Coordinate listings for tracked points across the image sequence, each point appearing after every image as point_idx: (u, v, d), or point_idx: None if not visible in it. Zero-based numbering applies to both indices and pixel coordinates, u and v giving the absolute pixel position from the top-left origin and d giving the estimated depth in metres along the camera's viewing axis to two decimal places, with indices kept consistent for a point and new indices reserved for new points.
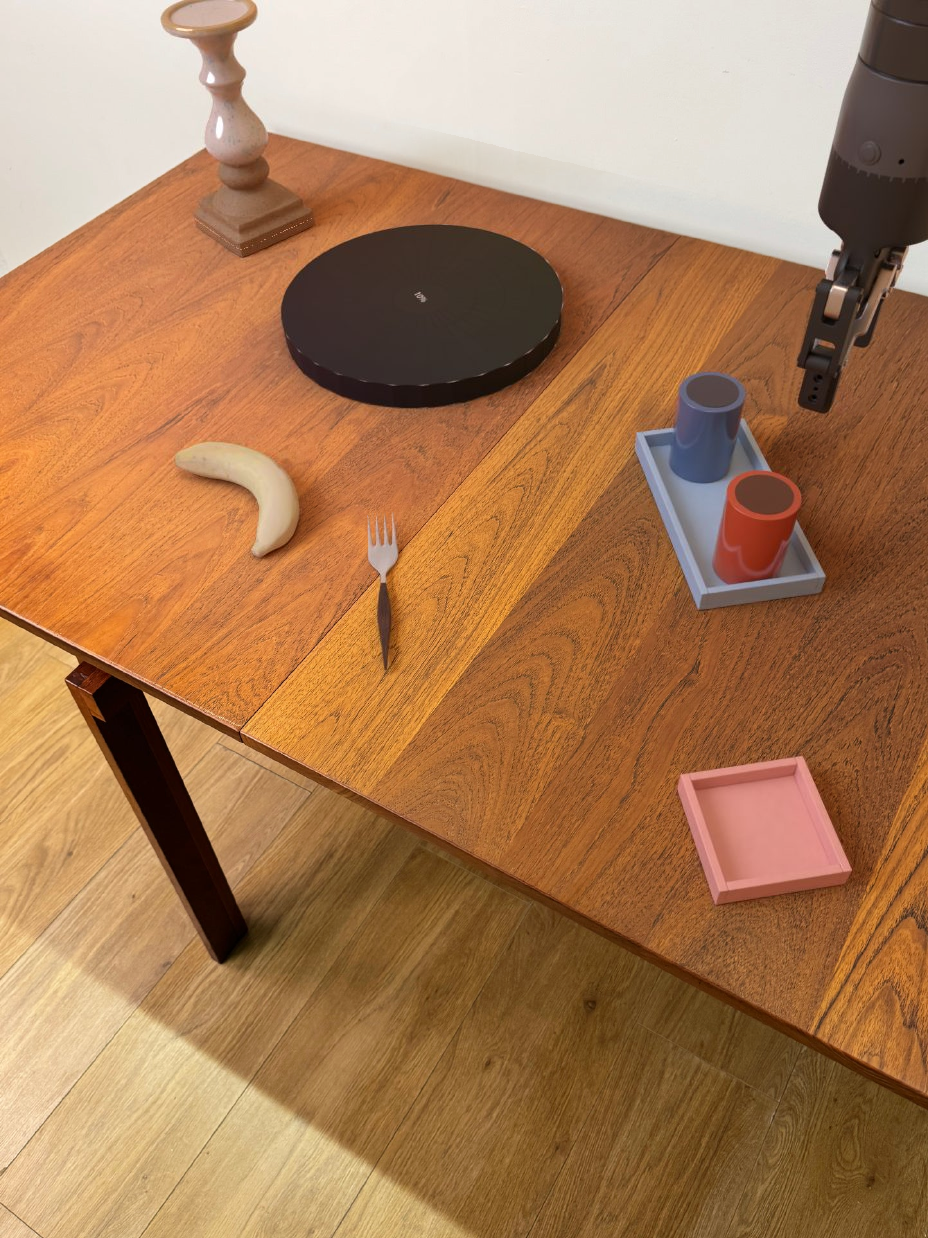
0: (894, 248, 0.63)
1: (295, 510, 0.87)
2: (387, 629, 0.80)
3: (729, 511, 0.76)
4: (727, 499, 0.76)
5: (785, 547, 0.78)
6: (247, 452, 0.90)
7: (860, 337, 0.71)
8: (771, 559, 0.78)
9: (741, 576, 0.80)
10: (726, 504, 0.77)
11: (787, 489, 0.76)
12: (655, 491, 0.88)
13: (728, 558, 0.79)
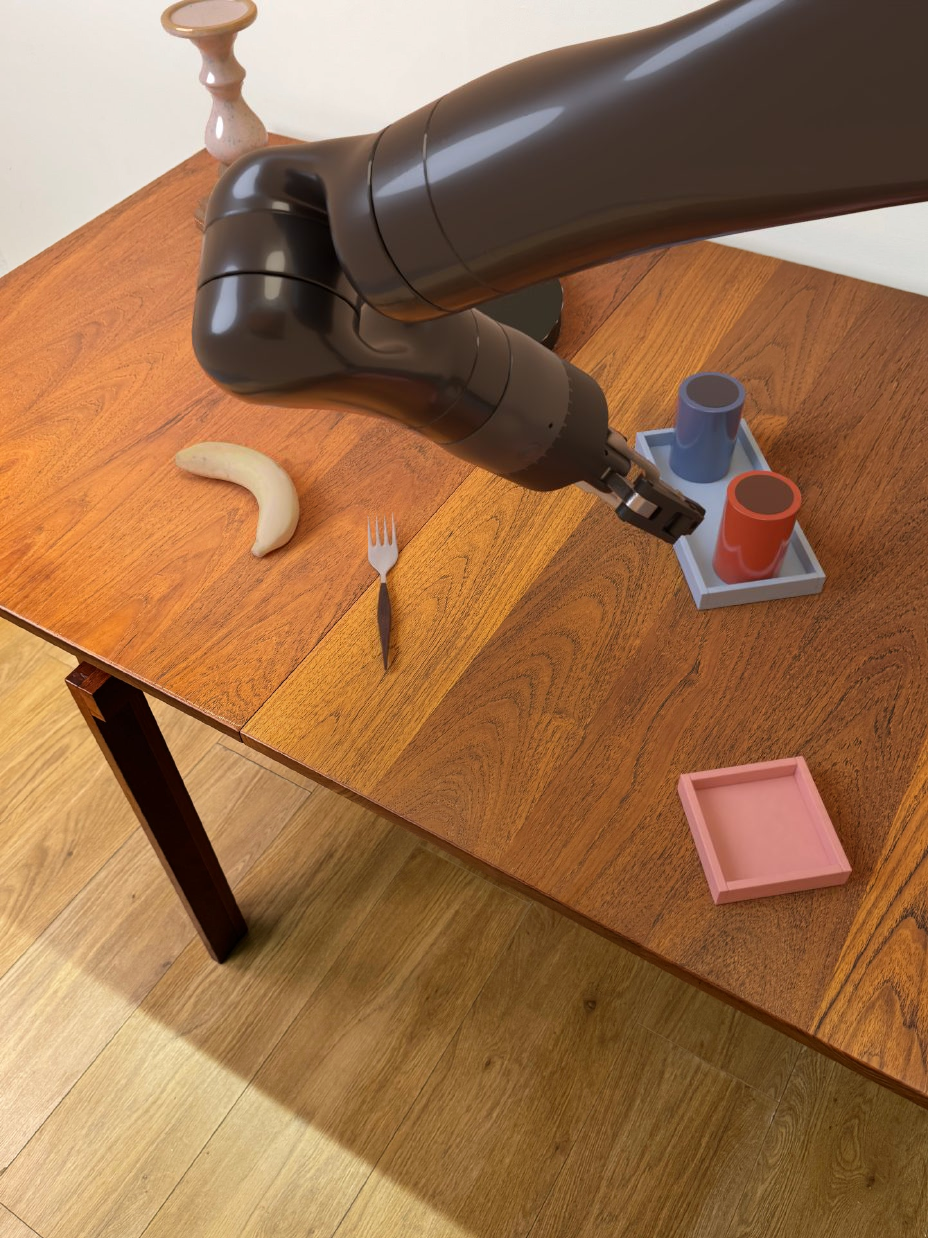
0: None
1: (295, 510, 0.87)
2: (387, 629, 0.80)
3: (729, 511, 0.76)
4: (727, 499, 0.76)
5: (785, 547, 0.78)
6: (247, 452, 0.90)
7: None
8: (771, 559, 0.78)
9: (741, 576, 0.80)
10: (726, 504, 0.77)
11: (787, 489, 0.76)
12: None
13: (728, 558, 0.79)
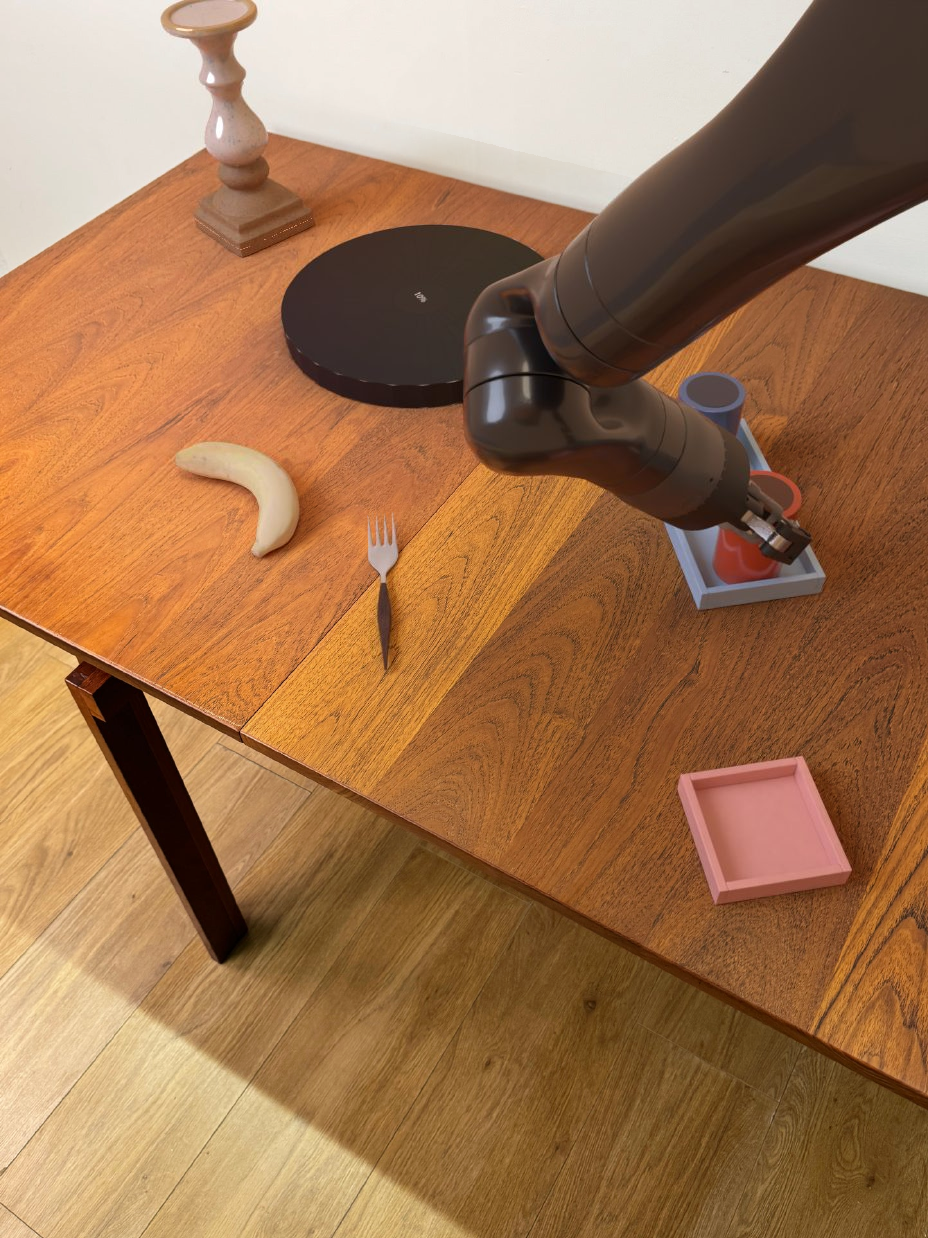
0: None
1: (295, 510, 0.87)
2: (387, 629, 0.80)
3: None
4: None
5: None
6: (247, 452, 0.90)
7: None
8: (771, 559, 0.78)
9: (741, 576, 0.80)
10: None
11: (787, 489, 0.76)
12: None
13: (728, 558, 0.79)
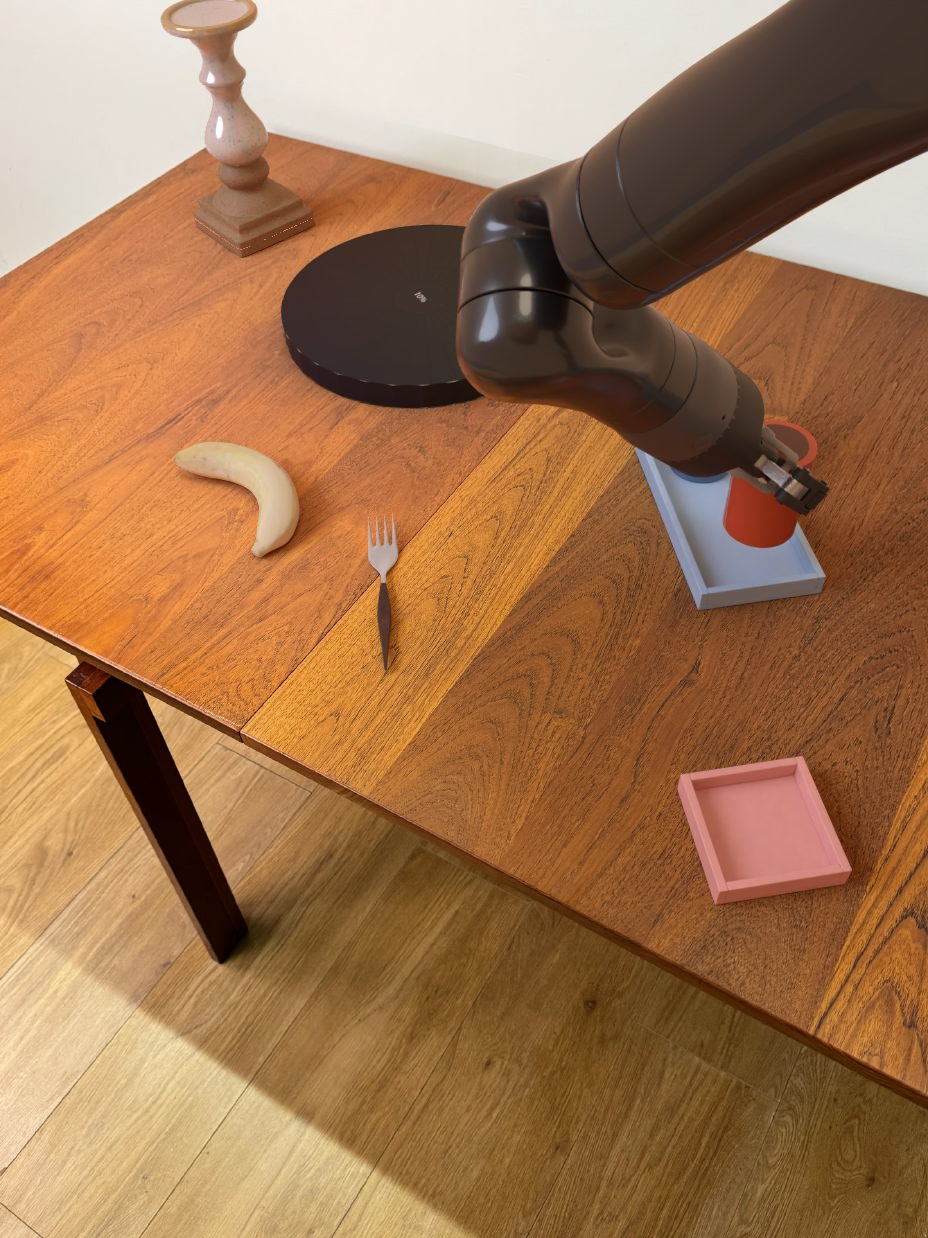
0: None
1: (295, 510, 0.87)
2: (387, 629, 0.80)
3: None
4: None
5: None
6: (247, 452, 0.90)
7: None
8: (785, 514, 0.74)
9: (753, 532, 0.76)
10: None
11: (802, 438, 0.73)
12: (655, 491, 0.88)
13: (739, 513, 0.75)
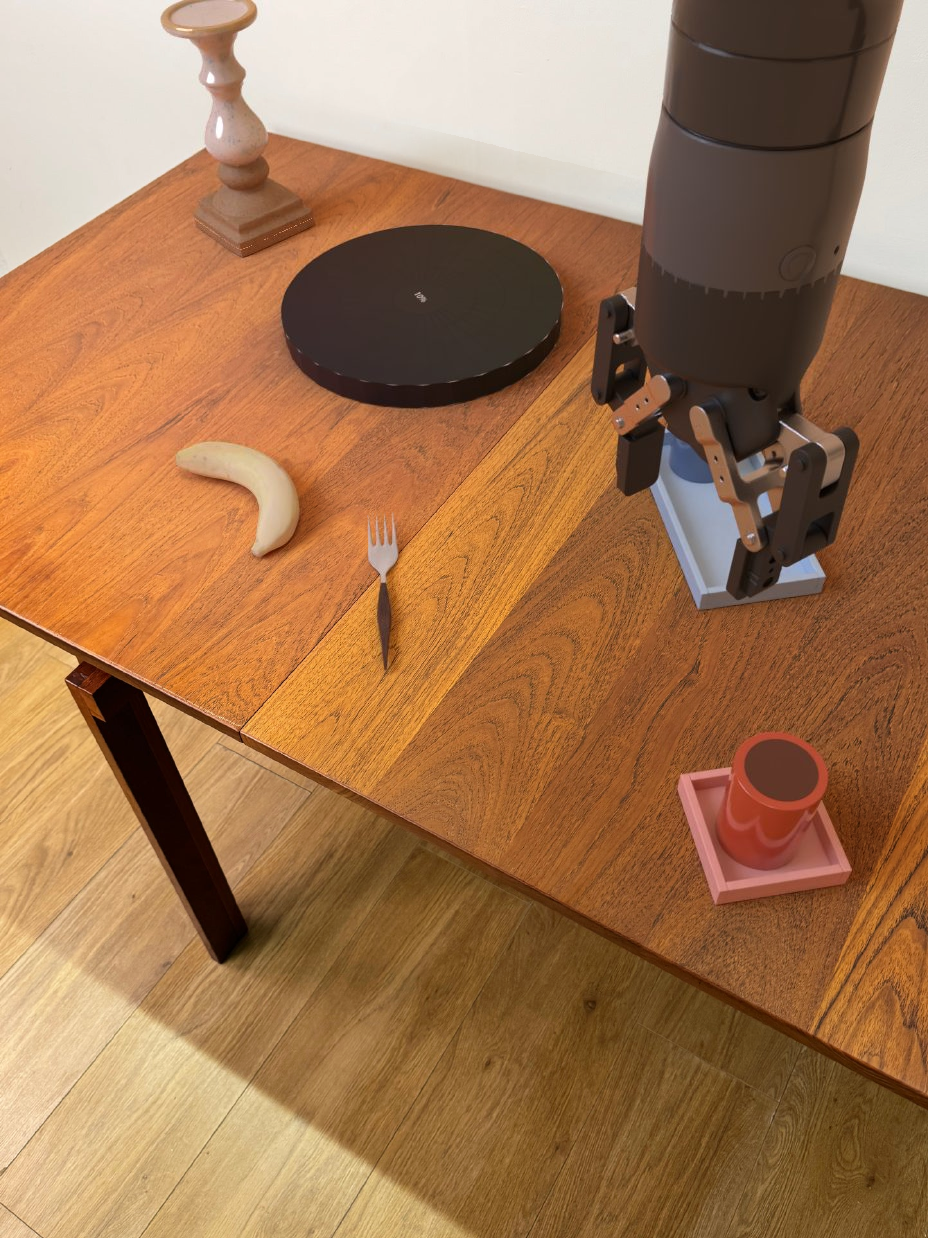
0: None
1: (295, 510, 0.87)
2: (387, 629, 0.80)
3: (737, 790, 0.61)
4: (734, 775, 0.61)
5: (807, 828, 0.63)
6: (247, 451, 0.90)
7: (648, 476, 0.51)
8: (789, 843, 0.63)
9: (751, 857, 0.64)
10: (733, 780, 0.61)
11: (810, 762, 0.61)
12: (655, 491, 0.88)
13: (735, 836, 0.64)
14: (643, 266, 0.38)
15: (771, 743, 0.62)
